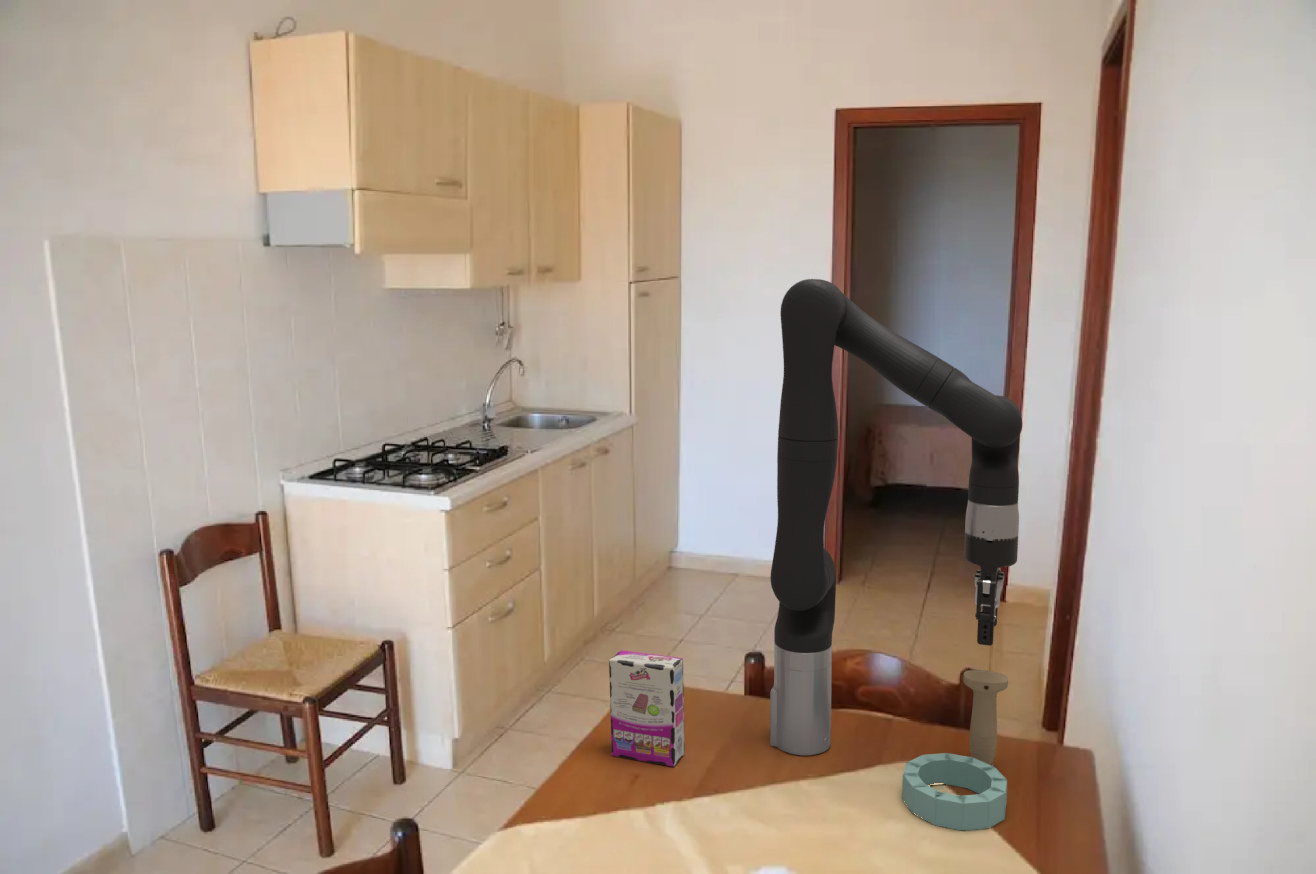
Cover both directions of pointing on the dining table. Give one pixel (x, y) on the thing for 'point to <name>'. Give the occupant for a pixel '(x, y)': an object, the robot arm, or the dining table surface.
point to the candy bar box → (647, 707)
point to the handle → (984, 712)
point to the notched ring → (950, 807)
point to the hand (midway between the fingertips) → (987, 634)
